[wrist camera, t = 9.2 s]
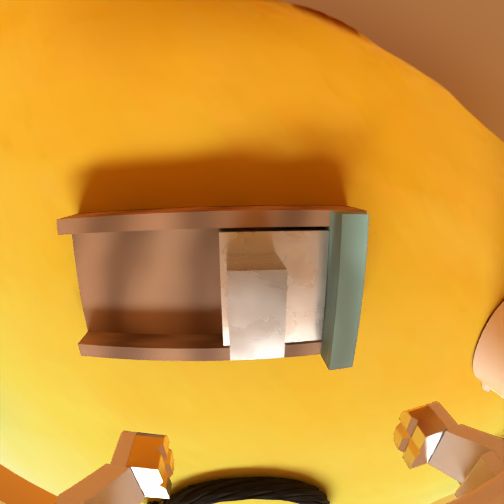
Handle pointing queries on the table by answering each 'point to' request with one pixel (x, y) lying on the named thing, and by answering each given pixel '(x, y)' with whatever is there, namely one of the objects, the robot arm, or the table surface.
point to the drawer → (199, 279)
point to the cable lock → (248, 491)
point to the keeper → (272, 288)
